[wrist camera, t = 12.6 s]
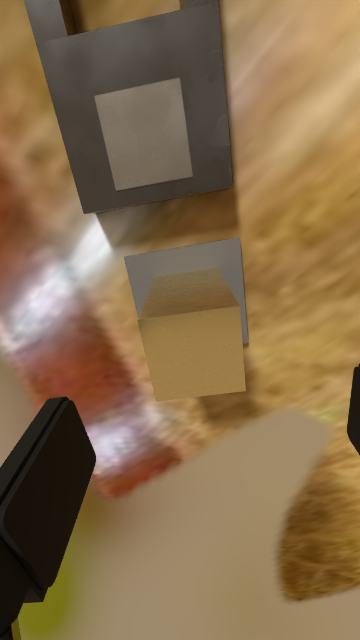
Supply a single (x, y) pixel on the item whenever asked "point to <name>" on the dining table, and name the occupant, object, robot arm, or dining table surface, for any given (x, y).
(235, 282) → the rubber mat
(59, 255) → the dining table surface
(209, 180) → the dark grey flat block
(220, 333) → the brass block
